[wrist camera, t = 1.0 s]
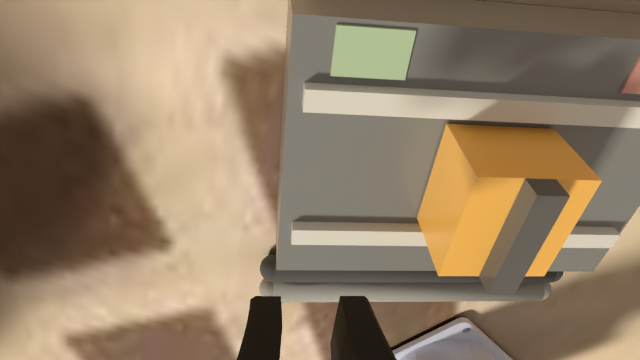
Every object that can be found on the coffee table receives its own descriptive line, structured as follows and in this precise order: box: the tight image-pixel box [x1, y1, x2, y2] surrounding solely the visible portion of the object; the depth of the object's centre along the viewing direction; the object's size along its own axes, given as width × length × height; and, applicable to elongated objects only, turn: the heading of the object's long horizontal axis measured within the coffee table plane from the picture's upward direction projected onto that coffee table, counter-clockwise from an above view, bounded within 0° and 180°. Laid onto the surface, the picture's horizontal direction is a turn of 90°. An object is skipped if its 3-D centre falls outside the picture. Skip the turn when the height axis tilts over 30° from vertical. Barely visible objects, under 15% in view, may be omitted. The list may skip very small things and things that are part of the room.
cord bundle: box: [260, 254, 563, 302], centre depth 24 cm, size 16×3×1 cm, turn 84°
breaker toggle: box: [417, 124, 602, 295], centre depth 16 cm, size 4×4×4 cm
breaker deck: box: [276, 0, 640, 271], centre depth 18 cm, size 15×11×4 cm
